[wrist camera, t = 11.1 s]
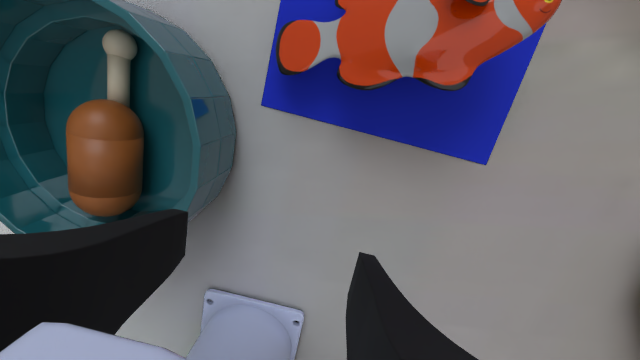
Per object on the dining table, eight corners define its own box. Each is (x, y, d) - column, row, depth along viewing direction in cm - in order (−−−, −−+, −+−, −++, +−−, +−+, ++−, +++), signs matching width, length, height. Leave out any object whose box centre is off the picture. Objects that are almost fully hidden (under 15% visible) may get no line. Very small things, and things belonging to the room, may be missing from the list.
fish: (618, -84, 12) (519, 137, 14) (544, -36, 16) (479, 125, 19) (285, -163, 12) (247, 65, 15) (304, -94, 17) (272, 71, 19)
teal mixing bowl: (225, 243, 24) (188, 287, 18) (41, 199, 24) (-46, 230, 19) (251, 32, 19) (213, 10, 14) (26, -15, 20) (-92, -52, 15)
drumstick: (153, 208, 23) (115, 233, 19) (101, 197, 23) (52, 219, 19) (161, 39, 19) (116, 27, 16) (99, 25, 20) (39, 10, 16)
